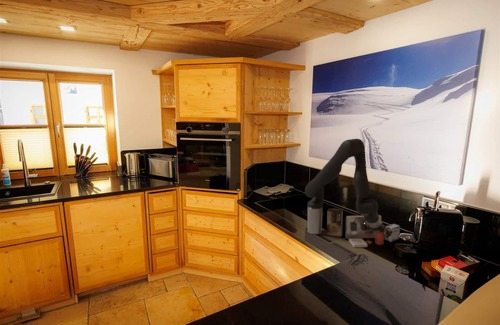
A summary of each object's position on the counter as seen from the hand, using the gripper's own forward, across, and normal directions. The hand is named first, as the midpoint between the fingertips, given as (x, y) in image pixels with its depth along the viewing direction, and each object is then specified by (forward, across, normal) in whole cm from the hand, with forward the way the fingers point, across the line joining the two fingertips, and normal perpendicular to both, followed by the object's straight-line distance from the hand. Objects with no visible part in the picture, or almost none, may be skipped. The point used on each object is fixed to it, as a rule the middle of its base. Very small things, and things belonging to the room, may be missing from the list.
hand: (380, 234), depth 156 cm
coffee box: (0, +26, +8) cm, 27 cm away
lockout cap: (+4, 0, +4) cm, 6 cm away
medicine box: (+11, -4, -3) cm, 12 cm away
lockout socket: (-3, +9, +11) cm, 14 cm away
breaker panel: (+4, +10, +4) cm, 11 cm away
